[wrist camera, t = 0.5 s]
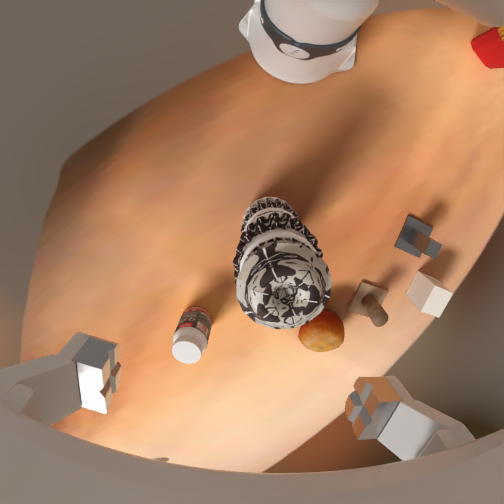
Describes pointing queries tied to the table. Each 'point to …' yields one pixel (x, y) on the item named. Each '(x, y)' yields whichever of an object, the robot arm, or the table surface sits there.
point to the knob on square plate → (369, 303)
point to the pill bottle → (191, 335)
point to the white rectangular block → (428, 294)
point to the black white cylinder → (279, 267)
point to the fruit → (322, 332)
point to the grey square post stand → (417, 239)
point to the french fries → (490, 47)
